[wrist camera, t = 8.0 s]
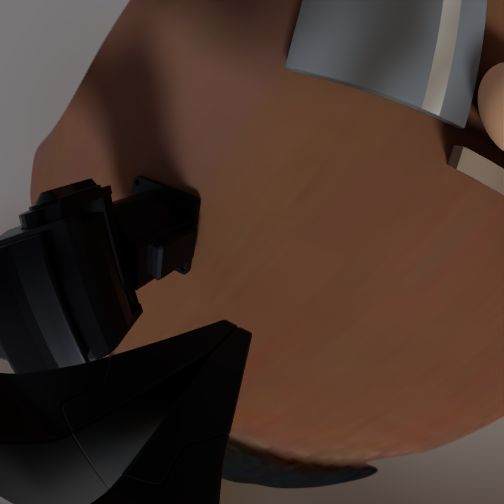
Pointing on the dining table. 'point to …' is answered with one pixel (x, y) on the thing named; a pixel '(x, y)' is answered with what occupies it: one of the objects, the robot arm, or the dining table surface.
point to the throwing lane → (401, 58)
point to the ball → (493, 103)
